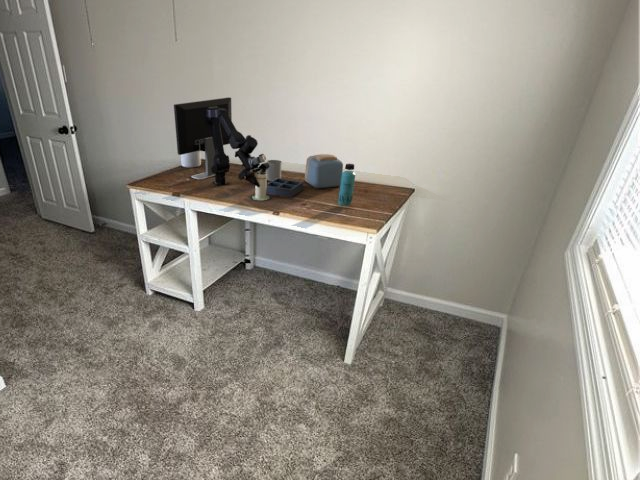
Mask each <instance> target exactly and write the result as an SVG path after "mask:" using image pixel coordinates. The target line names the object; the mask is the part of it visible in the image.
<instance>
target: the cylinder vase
mask: <svg viewBox="0 0 640 480" xmlns="http://www.w3.org/2000/svg"><path fill="white" fill-rule="evenodd" d="M180 163H181V164H180V165H181V166H182V167H183V168H189V169H193V168H199V167H200V166H201V165H202V155H201V151H200V152H199V151H196V152H191V153H187V154H183V155H180Z"/></svg>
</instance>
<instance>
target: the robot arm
mask: <svg viewBox="0 0 640 480" xmlns="http://www.w3.org/2000/svg"><path fill="white" fill-rule="evenodd" d="M204 115H205V118H206V121H207V122H208V124H209V125H210V127H211V133H212V138H213V144H214V149H215V157H214V165H213V166H212V168H211V172H212V173H214V174H215V176H214V178H215V179H214V181H212V183H213V184H214V185H216V186H224V185H228V184H229V182H228V181H226V173H229V172H230V166H231V161H230V156H229V155H227V154H226V152H225V148H224V145H223V142H222V136H221V130H220V122H221V123H222V125H223V127H224V129H225V131H226V132H227V134H228V136H229V140H228V141H229V143H230V144H229V147H230V148H231V149H232V150H236V151H235V152H234V157H235V158H238V159H239V161H240V162H241V167H242V168H243V167H244V168H243V169H242V170H241V171H240V172H239V173H238V174H237V177H238V179H239V180H240V181H243V180H244V181H247V182H249V183H250V184H252V185H254V186H255V185H256V186H257V187H260V185H259V183H258V181H257V179H256V177H255V176H256V173H257V172H265V173H266V170H267V169H268V168H269V167H270V165H269V164H268V163H267V161H266V160H267V157H266V155H265V154H264V153H261V154H259V155H258V156H257V157H255V156H252V155H251V154H252V153H253V152H254V151H255V149H256V148H257V147H258V145H259V143H258V140H257V139H256V138H255V137H254V136H252V135H250V134H248V135H246V136H244V135H243V134H242V132H240V131H239V130H237V128H236V126H235V125H234V123H233V120H232V121H231V119H230V117H229V116H228V114H227V110H226V109H220V108H219V107H207V108H206V109H205V111H204Z"/></svg>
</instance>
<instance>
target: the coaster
mask: <svg viewBox="0 0 640 480" xmlns="http://www.w3.org/2000/svg"><path fill="white" fill-rule="evenodd" d="M251 199H253V200H255V201H266V200H269V199H270V196H269V195H268V194H266V198H265V199H257V198H255V194H254V195H252V196H251Z"/></svg>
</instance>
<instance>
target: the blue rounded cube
mask: <svg viewBox="0 0 640 480" xmlns="http://www.w3.org/2000/svg"><path fill="white" fill-rule="evenodd" d="M304 170H305V171H304V181H305V182H306V183H307V184H309V185H310V186H311V187H313V188H315V189H317V190H318V189H328V188H337V187H340V184H341V178H342V173H343V172H344V163H343V162H342V161H341V160H340V159H339V158H338V157H337V156H336V155H334V154H328V153H327V154H326V153H325V154H324V153H321V154H314V155H310V156H307V158H306V162H305V169H304Z"/></svg>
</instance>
